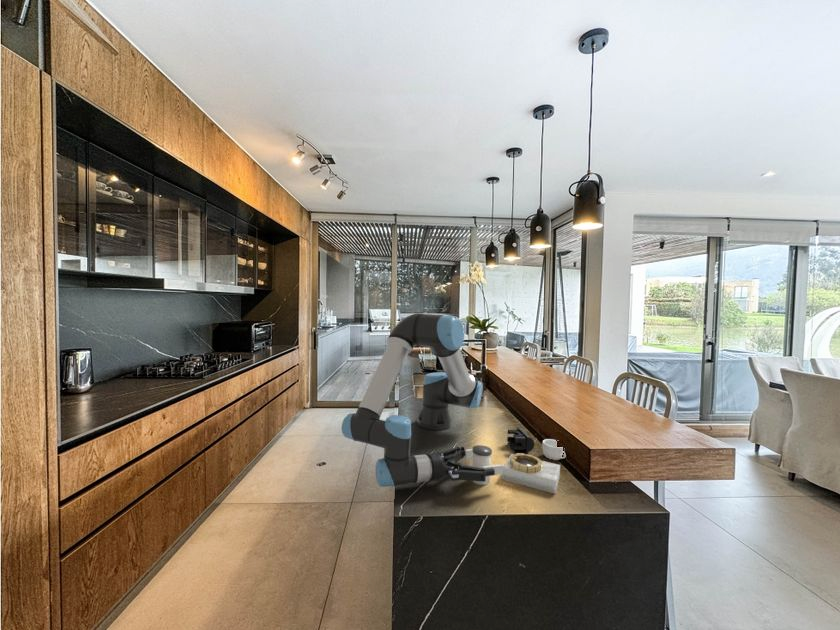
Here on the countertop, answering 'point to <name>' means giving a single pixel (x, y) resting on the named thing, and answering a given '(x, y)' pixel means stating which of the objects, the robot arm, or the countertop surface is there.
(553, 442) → the teacup
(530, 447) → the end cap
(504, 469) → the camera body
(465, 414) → the countertop surface
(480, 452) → the telephoto lens
